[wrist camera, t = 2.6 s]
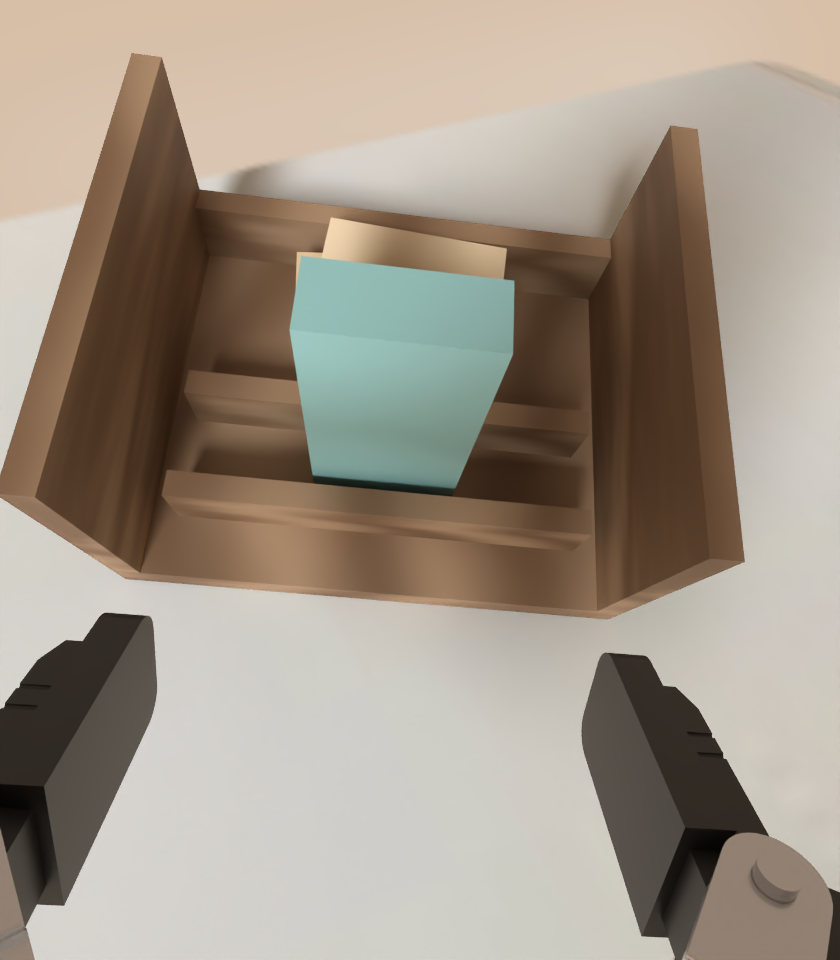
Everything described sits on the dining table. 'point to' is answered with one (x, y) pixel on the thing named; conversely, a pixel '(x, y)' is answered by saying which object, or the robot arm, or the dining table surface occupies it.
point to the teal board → (396, 370)
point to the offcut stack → (408, 250)
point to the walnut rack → (279, 418)
